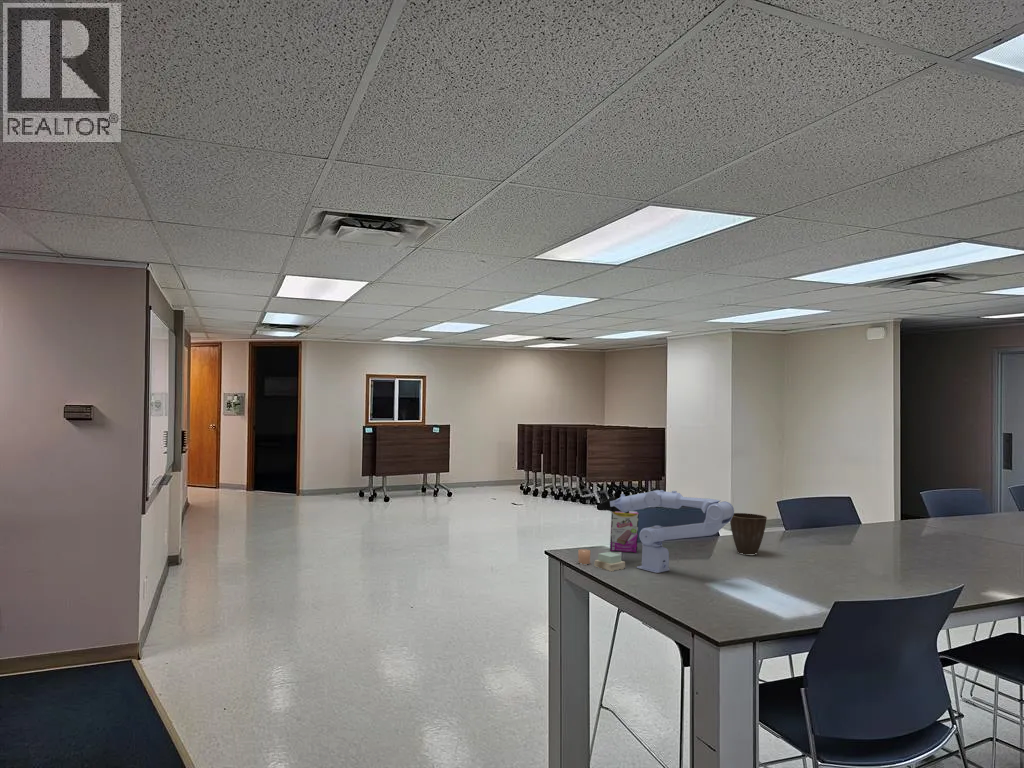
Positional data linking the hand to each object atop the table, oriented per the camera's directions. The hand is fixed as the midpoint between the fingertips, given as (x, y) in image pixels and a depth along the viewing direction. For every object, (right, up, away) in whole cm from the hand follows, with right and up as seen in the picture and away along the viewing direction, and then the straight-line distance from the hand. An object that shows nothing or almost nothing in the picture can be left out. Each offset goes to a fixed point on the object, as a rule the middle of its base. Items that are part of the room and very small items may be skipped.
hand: (604, 508), depth 265 cm
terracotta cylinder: (-9, -19, -9) cm, 23 cm away
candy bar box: (+10, -21, +16) cm, 28 cm away
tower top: (0, -17, -15) cm, 22 cm away
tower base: (0, -20, -15) cm, 25 cm away
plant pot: (+63, -23, +20) cm, 70 cm away
